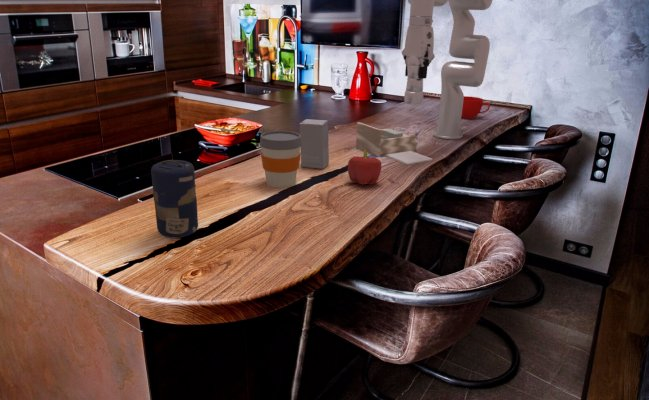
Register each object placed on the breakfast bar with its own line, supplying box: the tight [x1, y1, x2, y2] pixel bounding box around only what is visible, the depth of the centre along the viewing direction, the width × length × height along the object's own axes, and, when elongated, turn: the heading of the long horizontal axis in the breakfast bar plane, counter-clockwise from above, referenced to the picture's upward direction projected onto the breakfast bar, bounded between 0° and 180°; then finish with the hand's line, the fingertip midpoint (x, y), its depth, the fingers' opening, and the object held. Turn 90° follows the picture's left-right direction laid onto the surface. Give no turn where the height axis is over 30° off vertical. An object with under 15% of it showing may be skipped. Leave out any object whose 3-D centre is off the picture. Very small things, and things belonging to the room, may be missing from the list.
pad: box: [385, 151, 433, 166], centre depth 182 cm, size 12×12×1 cm
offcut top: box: [383, 128, 404, 138], centre depth 192 cm, size 4×8×2 cm, turn 30°
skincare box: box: [299, 118, 330, 170], centre depth 167 cm, size 8×7×16 cm
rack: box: [355, 121, 418, 158], centre depth 191 cm, size 19×14×10 cm
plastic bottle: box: [403, 55, 425, 106], centre depth 171 cm, size 6×7×20 cm
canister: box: [150, 159, 199, 239], centre depth 115 cm, size 10×10×18 cm
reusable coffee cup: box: [259, 130, 302, 189], centre depth 150 cm, size 13×13×15 cm
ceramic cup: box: [461, 95, 491, 120], centre depth 250 cm, size 13×17×10 cm
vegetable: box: [347, 149, 382, 185], centre depth 153 cm, size 11×10×10 cm
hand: (415, 76), depth 171 cm, fingers closed on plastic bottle, 6 cm apart
